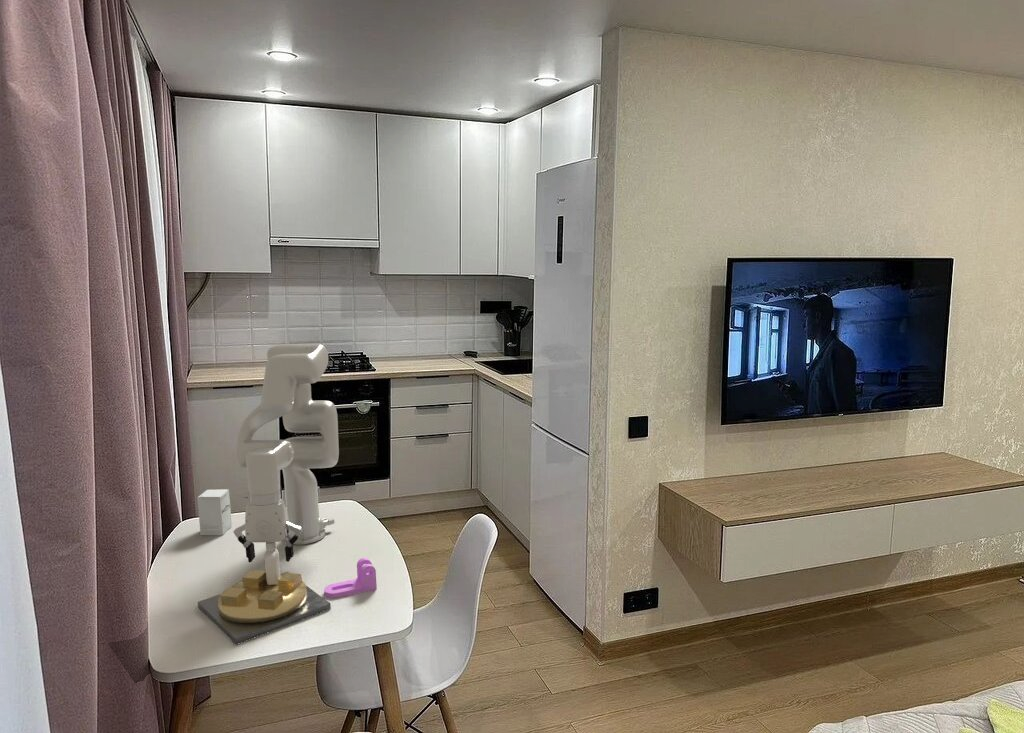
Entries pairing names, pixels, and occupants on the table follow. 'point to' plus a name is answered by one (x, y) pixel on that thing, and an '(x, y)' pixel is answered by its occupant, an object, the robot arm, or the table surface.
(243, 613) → the plate with cheese cubes
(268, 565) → the eye dropper bottle
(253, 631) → the dark grey square slab
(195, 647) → the table surface
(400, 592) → the table surface
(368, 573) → the bracket
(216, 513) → the supplement box
